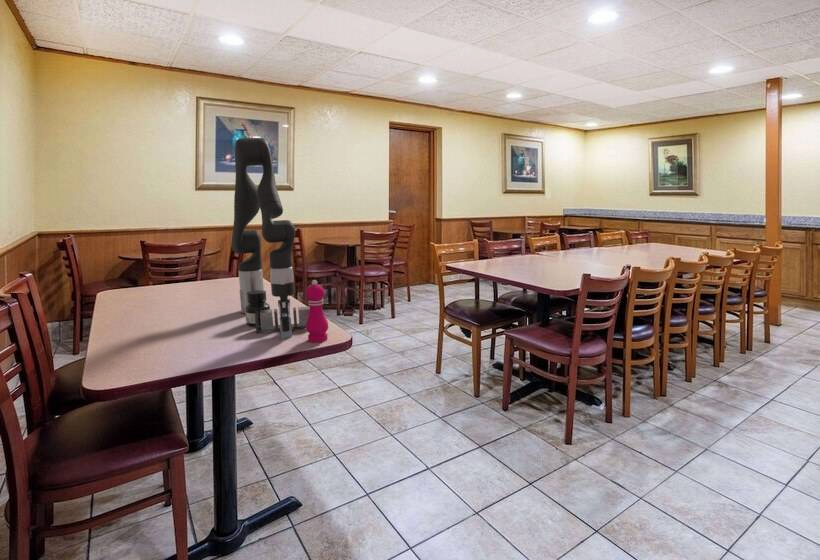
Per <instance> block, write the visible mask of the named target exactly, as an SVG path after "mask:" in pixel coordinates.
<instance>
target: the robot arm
mask: <svg viewBox="0 0 820 560" xmlns="http://www.w3.org/2000/svg"><path fill="white" fill-rule="evenodd" d="M271 153H272V152H271V149H270V146H269V143H268V141H267V140H266V139H265V138H263V137H246V138H245V137H244V138H243V137H241V138H238V139H236V140H235V144H234V165H235V167H234V168H235V180H234V181H235V183H234V184H235V186H234V195H233V196H234V200H233V201H234V202H233V207H234V209H233V212H234V213H233V215H234V216H233V227H232V234H231V247H232V250H233V252H234V253H235V254H240V255H241V254H242V255H243V254H251V256H250V257H248V258H247V259H246V260H243V261H240V262H239V263H238V265H237V269H238V281H239V299H240V300H239V301H240V307H241V309H240V311H241V314H246V313H245V307H246V306H247V305H248V304H249V303H248V301H247V292H249V291H255V290H264V275H263V264H262V261H263V260H262V240H261V236H262V239H264V241H265V242H267V243H269V244H272V243H273V244H275V243H281V246H280V247H278V248H275V249H273V250H271V251H270V252H269V265H270V271H269V272H270V273H269V274H270V275H269V276H270V277H269V278H270V287H271V295H272V297H276V298H277V297H279V299H278V300H277V306H278V312H279V313H278V315H279V316H280V315H281V321H282V330H283V332H288V331H289V314H290V315H291V298H288V297H291V296H294V295H295V294H296V288H295V276H294V275H295V274H294V270H293V259H292V255H293V254H292V253H293V247H294V241H295V238H296V226H295V225H294V223H293V221H291V220H289V219H283V220H282V219H281V220H274V219H277V218H279V217H281V216H282V215H283V213H284V208H283V205H282V201H281V198H280V195H279V193H278V189H277V184H276V176H275V172H274V171H275V170H274V165H273V158H272V154H271ZM253 166H255V167H257V166H262V175H261V179H260V182H259V184H258V186H257V184H256V183H255V182H254V181H253V180H252V179H251V177H250V175H249V173H248V172H247V168H248V167H253ZM259 211H260V213H261V234H260V231H259V230H257V229H249V230H248V229H247V230H246V227H247V226H248V224H250V223H251V222H252V221H253V220H254V218H255V217H256V216H257V215H258V213H259ZM264 291H265V290H264ZM284 314H287V316H283V315H284Z"/></svg>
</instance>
